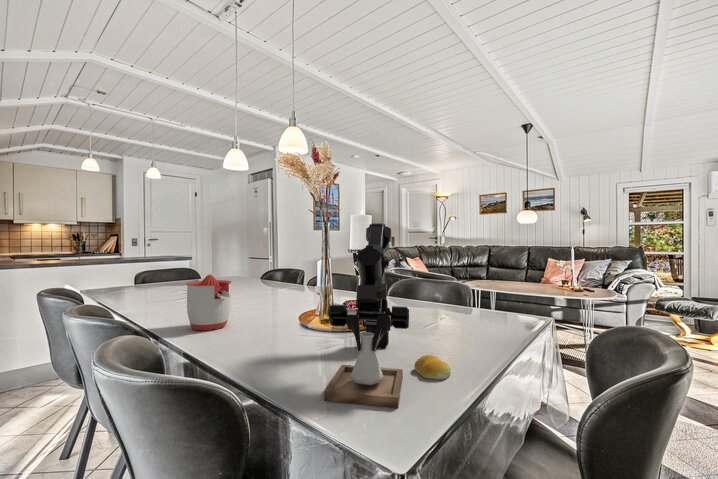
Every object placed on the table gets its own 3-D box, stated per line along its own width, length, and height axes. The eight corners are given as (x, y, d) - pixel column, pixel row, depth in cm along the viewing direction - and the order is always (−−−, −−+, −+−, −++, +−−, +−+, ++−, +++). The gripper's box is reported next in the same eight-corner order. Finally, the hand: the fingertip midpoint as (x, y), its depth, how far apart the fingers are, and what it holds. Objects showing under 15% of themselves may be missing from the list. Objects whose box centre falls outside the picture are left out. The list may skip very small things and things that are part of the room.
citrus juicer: (206, 336, 114) (207, 277, 115) (176, 329, 123) (177, 274, 124) (243, 326, 128) (243, 273, 128) (214, 320, 137) (214, 271, 137)
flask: (371, 389, 69) (372, 340, 69) (343, 380, 73) (344, 334, 73) (389, 377, 75) (389, 332, 75) (362, 370, 79) (362, 328, 79)
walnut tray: (324, 400, 68) (324, 390, 68) (341, 372, 83) (341, 364, 83) (398, 408, 65) (398, 397, 65) (402, 377, 80) (402, 369, 80)
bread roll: (428, 383, 77) (429, 366, 77) (409, 369, 86) (410, 353, 86) (458, 378, 80) (458, 361, 80) (437, 365, 89) (437, 350, 89)
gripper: (329, 270, 79) (318, 329, 68) (409, 271, 77) (410, 333, 66) (335, 297, 87) (326, 354, 76) (408, 299, 85) (409, 358, 74)
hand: (366, 350), depth 73 cm, fingers closed on flask, 3 cm apart
